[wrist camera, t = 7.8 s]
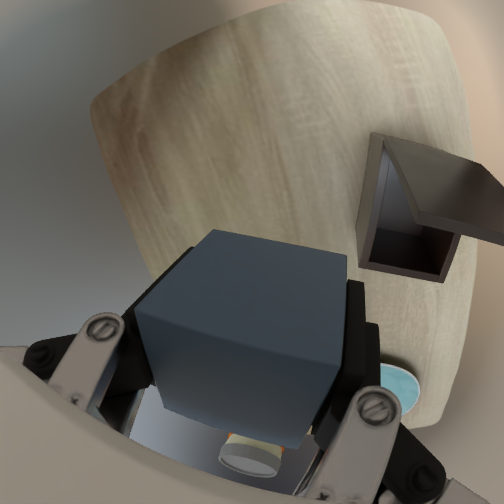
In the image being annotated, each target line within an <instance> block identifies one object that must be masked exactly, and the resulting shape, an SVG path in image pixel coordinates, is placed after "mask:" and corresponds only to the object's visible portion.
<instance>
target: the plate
mask: <svg viewBox="0 0 504 504" xmlns="http://www.w3.org/2000/svg"><path fill="white" fill-rule="evenodd" d="M381 387H384V388H386V389H388V390H390V391H392V392H393V393H394V394H395V395H396V396H397V398H398V399H399V401H400V403H401V407H402V416H403V415H404V414H406V413H407V412H408V411H410V410H411V409H412V408H413V406H414V405H415V404H416V402H417V401H418V398H419V395H420V385H419V382H418V380H417V379H416V377H415V376H414V375H413V374H411V373H410V372H409V371H407V370H405V369H403V368H400V367H397V366H394V365H390V364H385V363H381Z"/></svg>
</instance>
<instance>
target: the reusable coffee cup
mask: <svg viewBox="0 0 504 504" xmlns="http://www.w3.org/2000/svg"><path fill="white" fill-rule="evenodd" d="M283 451H284V447H283V446H278V445H274V444H270V443H266V442H262V441H258V440H254V439H251V438H247V437H244V436H240V435H237V434H233V433H229V435H228V440H227V442H226V444H224V445H223V446H222V448H221V451H220V455H219V461H220V462H221V463H222V464H224V465H225V466H227V467H229V468H231V469H233V470H235V471H238V472H240V473H243V474H247V475H251V476H257V477H273V476H275V475H276V474H277V472H278V470H279V467H280V465H281V460H280V459H281V454H282V453H283Z"/></svg>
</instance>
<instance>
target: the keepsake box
mask: <svg viewBox="0 0 504 504" xmlns="http://www.w3.org/2000/svg"><path fill="white" fill-rule="evenodd" d="M385 137H389V138H394V137H390V136H385V135H381V134H376V133H371V134H370V142H369V150H368V157H367V164H366V171H365V177H364V184H363V190H362V195H361V201H360V206H359V212H358V217H357V222H356V239H357V253H358V267H359V268H364V269H366V268H367V269H369V270H375V271H380V272H385V273H391V274H396V275H401V276H406V277H412V278H417V279H422V280H427V281H433V282H438V283H444V281H445V278H446V276H447V273H448V271H449V268H450V266H451V263H452V260H453V258H454V255H455V252H456V249H457V246H458V243H459V240H460V237H461V234H458V233H454V232H450V231H446V230H442V229H438V228H433V227H429V226H425V225H421V224H416V223H415V220H414V217H413V214H412V212H411V209H410V206H409V203H408V200H407V198H406V195H405V192H404V190H403V187H402V185H401V182H400V179H399V177H398V175H397V172H396V170H395V167H394V165H393V163H392V160H391V158H390V156H389V154H388V151H387V149H386V147H385V145H384V138H385ZM394 139H398V138H394ZM398 140H402V141H406V142H410V143H414V144H418V143H415V142H411V141H407V140H403V139H398ZM418 145H422V144H418ZM422 146H426V145H422ZM426 147H429V146H426ZM429 148H433V147H429ZM433 149H436V148H433ZM436 150H440V149H436ZM440 151H443V150H440ZM443 152H446V151H443ZM446 153H448V152H446ZM449 154H450V153H449Z"/></svg>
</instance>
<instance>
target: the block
mask: <svg viewBox="0 0 504 504" xmlns="http://www.w3.org/2000/svg"><path fill="white" fill-rule="evenodd" d="M346 281H347V256H346V255H343V254H338V253H333V252H328V251H323V250H318V249H313V248H308V247H303V246H298V245H293V244H288V243H283V242H278V241H273V240H268V239H263V238H257V237H252V236H247V235H242V234H237V233H231V232H226V231H221V230H215V229H213V230H212V231H211V232H210V233H209V234H208V235H207V236H206V237H205V238H204V239H203V240H202V241H200V242H199V243H198V244H197V245H196V246H195V247H194V248H193V249H192V250H191V251H190V252H189V253H188V254H187V255H186V256H185V257H184V258H183V259H182V260H181V261H180V262H179V263H178V264H177V265H176V266H175V267H174V268H173V269H172V270H171V271H170V272H169V273H168V274H167V275H166V276H165V277H164V278H163V279H162V280H161V281H160V282H159V283H158V284H157V285H156V286H155V287H154V288H153V290H152V291H151V292H150V293H149V294H148V295H147V296H146V297H145V298H144V299H143V300H142V301H141V302H140V303H139V304H138V305H137V306H136V307H135V309H134V311H135V315H136V319H137V323H138V327H139V330H140V334H141V338H142V341H143V345H144V348H145V352H146V355H147V358H148V362H149V365H150V368H151V371H152V374H153V377H154V380H155V383H156V386H157V389H158V392H159V395H160V397H161V400H162V403H163V406H164V408H165V409H168V410H170V411H173V412H175V413H177V414H180V415H183V416H185V417H187V418H190V419H193V420H195V421H198V422H201V423H204V424H206V425H209V426H212V427H215V428H218V429H221V430H224V431H227V432H230V433H233V434H237V435H240V436H244V437H247V438H251V439H254V440H258V441H262V442H266V443H270V444H274V445H278V446H283V447H287V448H292V449H298V447H299V446H300V444H301V443H302V441H303V439H304V437H305V436H306V434H307V432H308V430H309V428H310V427H311V425H312V423H313V421H314V419H315V417H316V415H317V414H318V412H319V410H320V408H321V406H322V404H323V402H324V400H325V398H326V396H327V394H328V392H329V390H330V388H331V386H332V384H333V381H334V379H335V377H336V375H337V373H338V371H339V369H340V366H341V358H342V348H343V336H344V322H345V305H346Z"/></svg>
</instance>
